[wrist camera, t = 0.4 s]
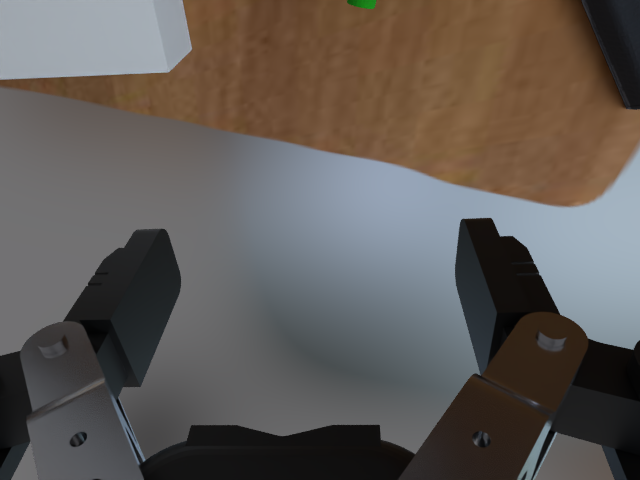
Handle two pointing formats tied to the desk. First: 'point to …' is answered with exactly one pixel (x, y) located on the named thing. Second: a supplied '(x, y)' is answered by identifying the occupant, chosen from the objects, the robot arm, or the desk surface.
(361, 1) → the mechanical component
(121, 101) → the desk surface
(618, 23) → the external hard drive
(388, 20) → the desk surface
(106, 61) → the housing
